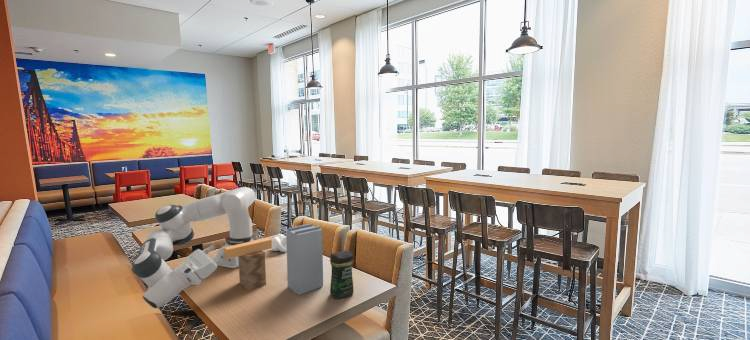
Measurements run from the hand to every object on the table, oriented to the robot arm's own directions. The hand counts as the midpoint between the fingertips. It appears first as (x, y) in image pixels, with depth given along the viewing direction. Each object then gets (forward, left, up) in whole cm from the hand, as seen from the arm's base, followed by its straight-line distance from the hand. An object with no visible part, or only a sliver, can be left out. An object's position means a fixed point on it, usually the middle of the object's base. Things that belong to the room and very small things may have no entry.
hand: (217, 249), depth 146 cm
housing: (+33, +13, -19) cm, 41 cm away
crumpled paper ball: (+1, +55, -20) cm, 58 cm away
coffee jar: (+51, +9, -20) cm, 56 cm away
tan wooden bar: (+8, +10, -4) cm, 14 cm away
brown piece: (+9, +11, -19) cm, 24 cm away
